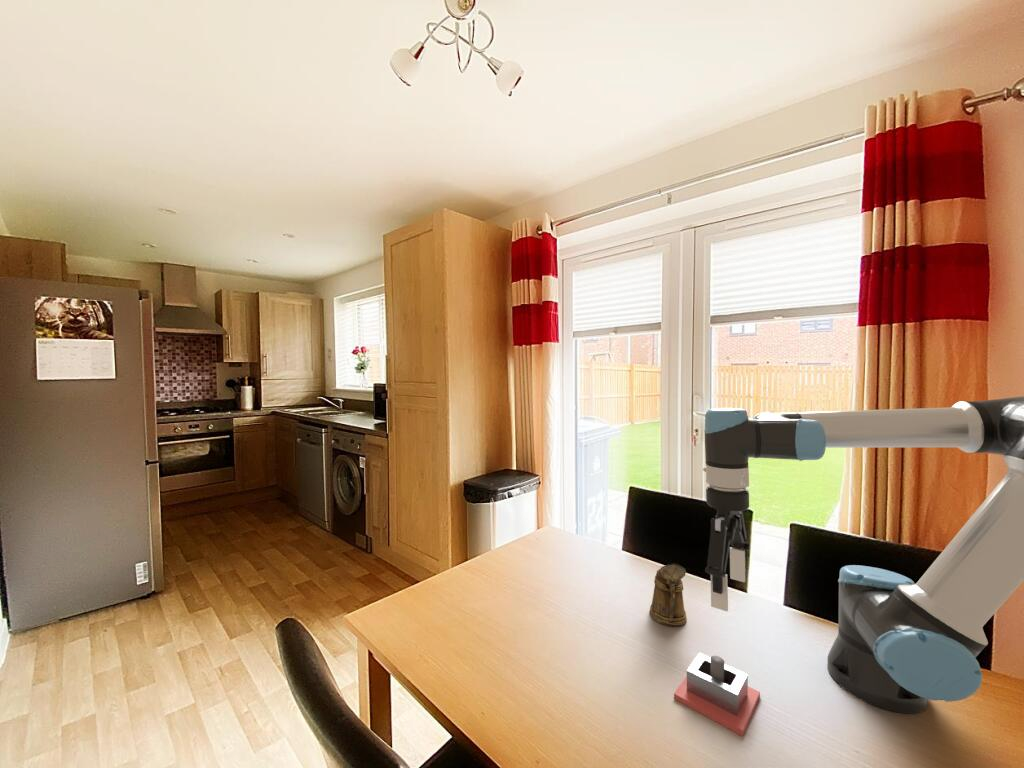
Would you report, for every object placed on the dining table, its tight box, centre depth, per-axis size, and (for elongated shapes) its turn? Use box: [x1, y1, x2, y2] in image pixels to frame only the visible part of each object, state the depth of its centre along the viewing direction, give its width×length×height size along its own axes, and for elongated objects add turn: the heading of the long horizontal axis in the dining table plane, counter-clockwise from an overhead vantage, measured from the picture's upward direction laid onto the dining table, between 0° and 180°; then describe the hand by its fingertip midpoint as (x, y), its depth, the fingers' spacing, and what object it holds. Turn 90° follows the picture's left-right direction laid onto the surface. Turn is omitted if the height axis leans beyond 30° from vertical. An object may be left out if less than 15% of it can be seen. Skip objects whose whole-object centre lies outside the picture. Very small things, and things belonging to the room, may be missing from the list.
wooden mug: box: [649, 563, 688, 627], centre depth 104 cm, size 9×14×18 cm, turn 167°
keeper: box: [673, 655, 761, 737], centre depth 79 cm, size 12×12×8 cm
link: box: [686, 652, 749, 716], centre depth 80 cm, size 9×7×4 cm
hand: (729, 593), depth 81 cm, fingers open, 13 cm apart
